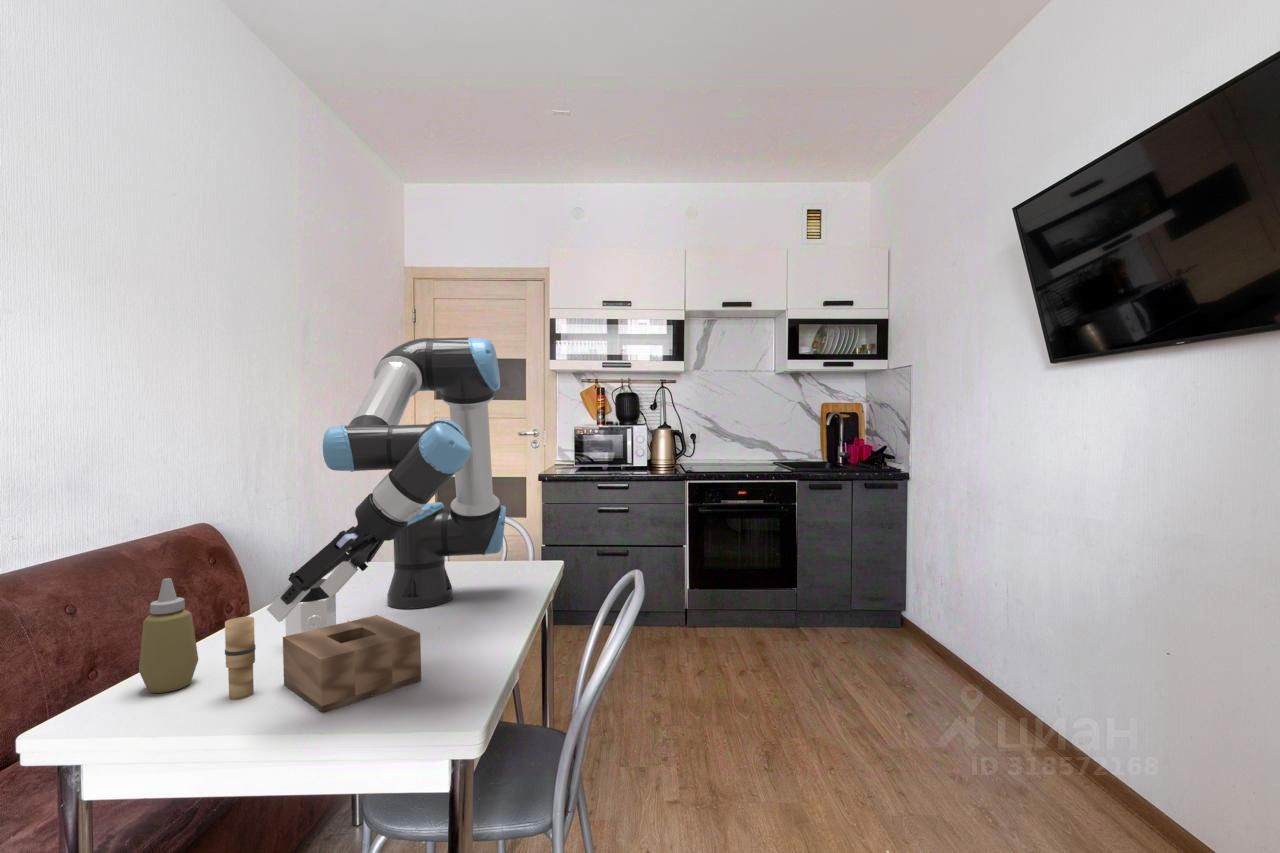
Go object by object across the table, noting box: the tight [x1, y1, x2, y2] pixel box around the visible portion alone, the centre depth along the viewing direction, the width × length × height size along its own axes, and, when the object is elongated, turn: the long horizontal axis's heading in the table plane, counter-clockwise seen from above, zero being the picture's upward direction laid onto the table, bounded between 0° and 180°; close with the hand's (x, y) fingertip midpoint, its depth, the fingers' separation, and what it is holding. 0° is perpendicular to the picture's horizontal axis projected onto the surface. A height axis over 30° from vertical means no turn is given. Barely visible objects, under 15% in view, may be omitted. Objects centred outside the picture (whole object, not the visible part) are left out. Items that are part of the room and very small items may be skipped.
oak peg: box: [224, 616, 257, 700], centre depth 106 cm, size 4×4×12 cm
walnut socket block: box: [282, 614, 422, 713], centre depth 110 cm, size 16×16×8 cm
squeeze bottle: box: [138, 577, 199, 694], centre depth 110 cm, size 8×8×18 cm
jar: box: [284, 578, 337, 636], centre depth 130 cm, size 9×8×12 cm
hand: (301, 602), depth 105 cm, fingers open, 13 cm apart
